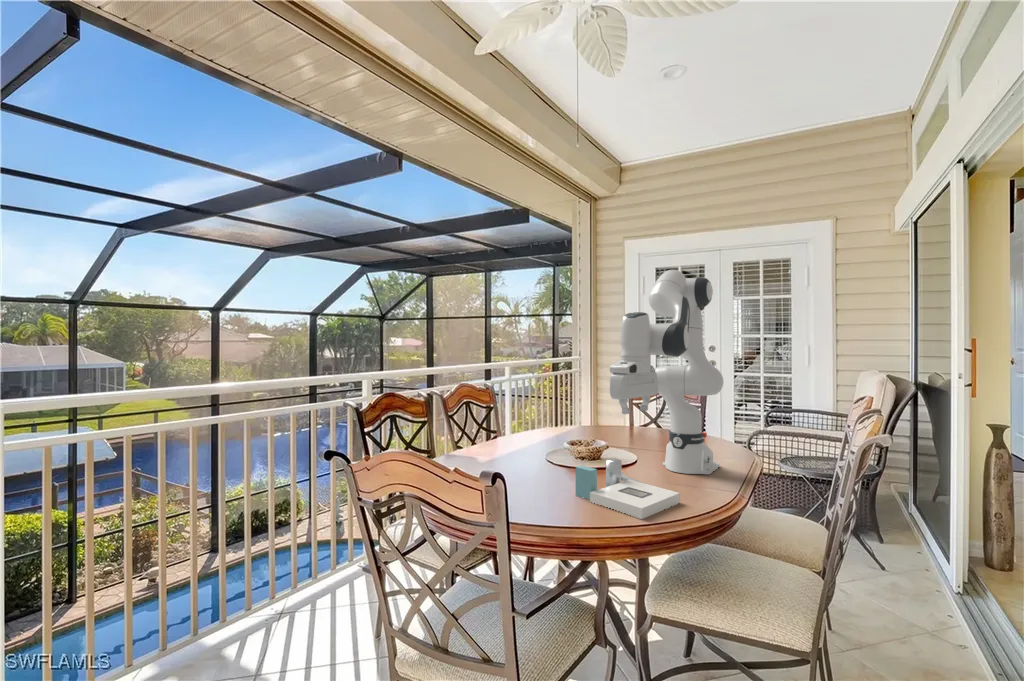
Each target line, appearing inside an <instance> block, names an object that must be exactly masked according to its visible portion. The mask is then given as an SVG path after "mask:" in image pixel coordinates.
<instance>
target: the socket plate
mask: <svg viewBox="0 0 1024 681" xmlns="http://www.w3.org/2000/svg"><path fill="white" fill-rule="evenodd" d="M640 482H641V481H640ZM640 482H636V481H633V480H627V481H622V482H620V483H617V484H614V485H611V486H608V487H606V486H605V487H602V488H600V489H597V490H596V491H593V492H590V500H589V503H591V502H592V503H591V504H594V503H595V504H594V505H597V504H599V505H598V506H600V505H603V506H605V507H604V508H606V507H608V508H607V509H609V508H611V509H610V510H612V509H614V510H613V511H615V510H617V511H616V512H618V511H620V512H619V513H621V512H622V513H621V514H624V513H626V514H625V515H627V514H628V516H630V515H631V516H630V517H633V518H637V519H639V520H643V519H646V518H648V517H651V516H653V515H655V514H657V513H659V512H662V511H664V509H665V510H667V509H669V508H671V506H672V507H674V506H676V505H678V503H679V504H680V503H681V493H680V492H678V491H673V490H670V489H666V488H663V487H659V486H655V485H651V484H647V483H645V482H643V483H640ZM644 483H645V484H644ZM603 506H602V507H603Z"/></svg>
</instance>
